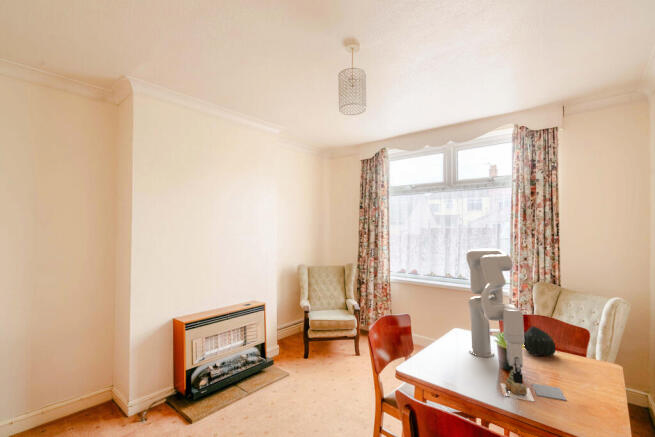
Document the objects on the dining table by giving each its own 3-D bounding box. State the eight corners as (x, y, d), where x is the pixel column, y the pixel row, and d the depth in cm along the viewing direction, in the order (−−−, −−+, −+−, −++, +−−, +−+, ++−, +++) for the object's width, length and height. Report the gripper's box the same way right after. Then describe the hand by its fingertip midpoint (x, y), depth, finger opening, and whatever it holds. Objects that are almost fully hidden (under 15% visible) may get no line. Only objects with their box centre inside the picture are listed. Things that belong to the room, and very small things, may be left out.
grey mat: (532, 384, 135) (532, 383, 135) (559, 388, 130) (559, 387, 130) (537, 395, 125) (537, 394, 125) (566, 400, 121) (566, 399, 121)
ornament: (530, 395, 125) (529, 371, 125) (517, 397, 124) (516, 373, 125) (515, 385, 133) (514, 363, 133) (503, 387, 132) (502, 364, 132)
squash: (559, 352, 154) (552, 324, 164) (525, 349, 161) (520, 322, 170) (555, 362, 163) (549, 335, 173) (523, 359, 170) (519, 333, 179)
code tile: (500, 383, 136) (500, 382, 136) (528, 388, 131) (528, 387, 131) (503, 396, 126) (503, 395, 126) (534, 401, 121) (534, 401, 121)
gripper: (501, 330, 139) (503, 367, 138) (506, 343, 123) (509, 385, 122) (520, 332, 135) (522, 370, 135) (528, 345, 120) (530, 389, 119)
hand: (516, 377), depth 128 cm, fingers open, 9 cm apart
